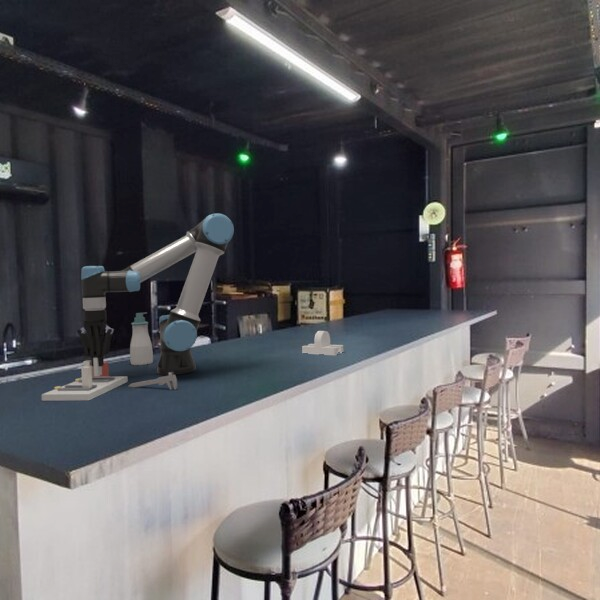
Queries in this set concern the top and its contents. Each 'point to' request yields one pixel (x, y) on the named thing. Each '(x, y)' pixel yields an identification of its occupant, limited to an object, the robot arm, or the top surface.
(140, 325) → the soap bottle
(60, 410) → the top surface
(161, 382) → the caliper
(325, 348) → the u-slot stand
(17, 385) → the top surface
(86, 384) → the post
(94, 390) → the panel
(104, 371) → the brick-red cube
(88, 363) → the block
